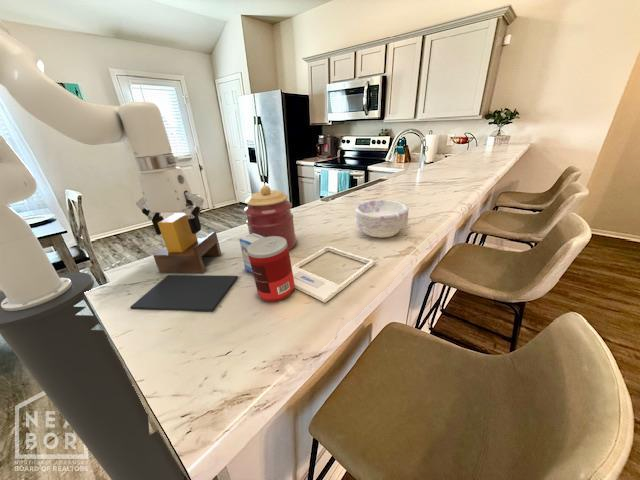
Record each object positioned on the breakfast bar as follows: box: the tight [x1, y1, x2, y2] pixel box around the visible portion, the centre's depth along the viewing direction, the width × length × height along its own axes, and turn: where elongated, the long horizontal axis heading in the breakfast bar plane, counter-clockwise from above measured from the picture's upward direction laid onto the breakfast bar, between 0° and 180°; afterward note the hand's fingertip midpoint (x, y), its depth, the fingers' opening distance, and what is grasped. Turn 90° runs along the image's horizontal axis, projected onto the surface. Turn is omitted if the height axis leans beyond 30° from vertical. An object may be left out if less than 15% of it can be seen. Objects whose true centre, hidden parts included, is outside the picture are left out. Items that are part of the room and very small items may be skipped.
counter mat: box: [129, 274, 238, 313], centre depth 58 cm, size 18×12×1 cm, turn 83°
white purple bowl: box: [354, 199, 409, 239], centre depth 79 cm, size 15×15×8 cm
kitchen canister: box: [243, 185, 297, 251], centre depth 73 cm, size 13×13×18 cm
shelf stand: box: [152, 230, 222, 274], centre depth 69 cm, size 12×10×7 cm
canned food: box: [247, 236, 295, 302], centre depth 53 cm, size 8×8×11 cm
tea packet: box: [158, 212, 198, 252], centre depth 67 cm, size 4×7×8 cm, turn 173°
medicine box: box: [238, 233, 264, 274], centre depth 62 cm, size 8×4×9 cm, turn 49°
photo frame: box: [291, 245, 375, 304], centre depth 61 cm, size 15×1×18 cm
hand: (179, 232), depth 67 cm, fingers open, 9 cm apart
